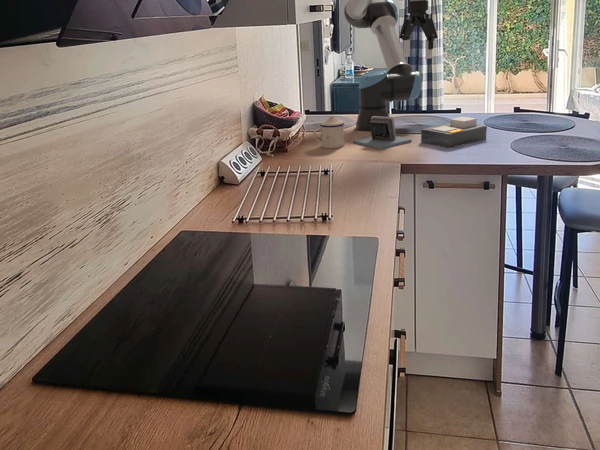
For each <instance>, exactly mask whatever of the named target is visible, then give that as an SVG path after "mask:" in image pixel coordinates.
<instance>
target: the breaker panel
mask: <svg viewBox="0 0 600 450" xmlns="http://www.w3.org/2000/svg"><path fill="white" fill-rule="evenodd" d="M442 126H448V127H453V126H450V122H447V123H444V124H439V125H434V126H430V127H425V128H422V129H421V130H420V131H421V137H420V139H421V140H420V142H421V143H423V144H427V145H432V146H437V147H442V148H446V149H450V148H455V147H459V146H463V145H466V144H471V143H475V142H479V141H483V140H487V130H488V125H485V124H478V123H476V126H472V127H468V128H459V127H454V128H458V129H457V130H452V131H448V132H446V133H444V132H439V131H433V130H431V129H432V128H437V127H442Z"/></svg>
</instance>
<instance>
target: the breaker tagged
mask: <svg viewBox="0 0 600 450" xmlns="http://www.w3.org/2000/svg"><path fill="white" fill-rule="evenodd" d="M457 129H458V128H454V127H448V126H442V127H437V128H432V129H431V130H433V131H439V132H444V133H446V132H448V131H452V130H457Z"/></svg>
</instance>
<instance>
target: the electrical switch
mask: <svg viewBox="0 0 600 450" xmlns="http://www.w3.org/2000/svg"><path fill="white" fill-rule="evenodd" d="M370 129H371V131H370V133H371V136H372V140H380V141H391V140H395V139H396V136H397V134H396V133H397V132H396V128H395V120H394V118H393V116H389V117H381V116H372V117H371V121H370Z"/></svg>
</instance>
